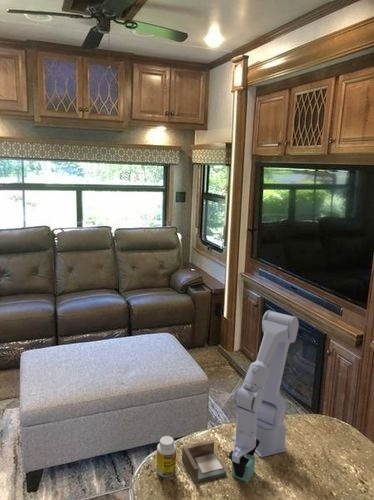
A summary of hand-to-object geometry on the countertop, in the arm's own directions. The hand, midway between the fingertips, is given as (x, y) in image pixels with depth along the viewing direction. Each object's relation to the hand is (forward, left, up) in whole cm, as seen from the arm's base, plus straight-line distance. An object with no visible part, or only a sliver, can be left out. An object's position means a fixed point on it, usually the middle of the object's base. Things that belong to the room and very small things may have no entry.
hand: (243, 469), depth 121 cm
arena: (+10, -6, -1) cm, 12 cm away
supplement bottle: (+21, -8, -2) cm, 22 cm away
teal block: (0, 0, -2) cm, 2 cm away
